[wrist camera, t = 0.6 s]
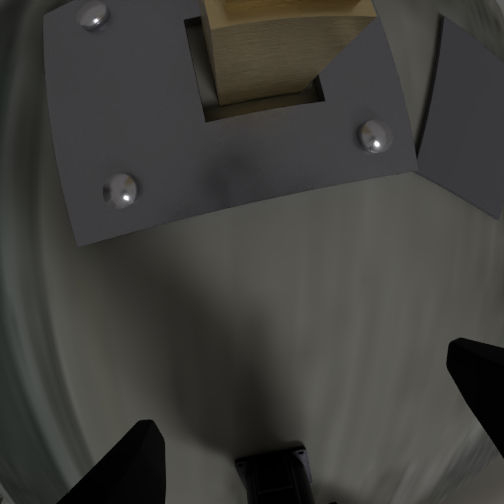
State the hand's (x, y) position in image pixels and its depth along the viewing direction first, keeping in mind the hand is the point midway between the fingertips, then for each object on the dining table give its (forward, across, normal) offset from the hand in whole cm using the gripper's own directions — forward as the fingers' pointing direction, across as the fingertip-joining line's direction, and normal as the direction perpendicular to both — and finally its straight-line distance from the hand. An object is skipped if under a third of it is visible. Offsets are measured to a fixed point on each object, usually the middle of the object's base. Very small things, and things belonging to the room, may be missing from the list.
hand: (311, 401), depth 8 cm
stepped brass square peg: (+13, -2, -13) cm, 18 cm away
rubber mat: (+13, -19, -8) cm, 24 cm away
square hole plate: (+13, 0, -13) cm, 18 cm away
